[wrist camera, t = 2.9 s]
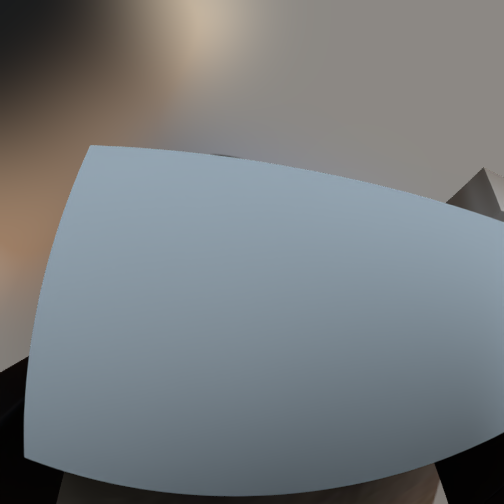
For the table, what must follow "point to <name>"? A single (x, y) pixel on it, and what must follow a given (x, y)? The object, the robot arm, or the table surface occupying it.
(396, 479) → the table surface
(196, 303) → the book
